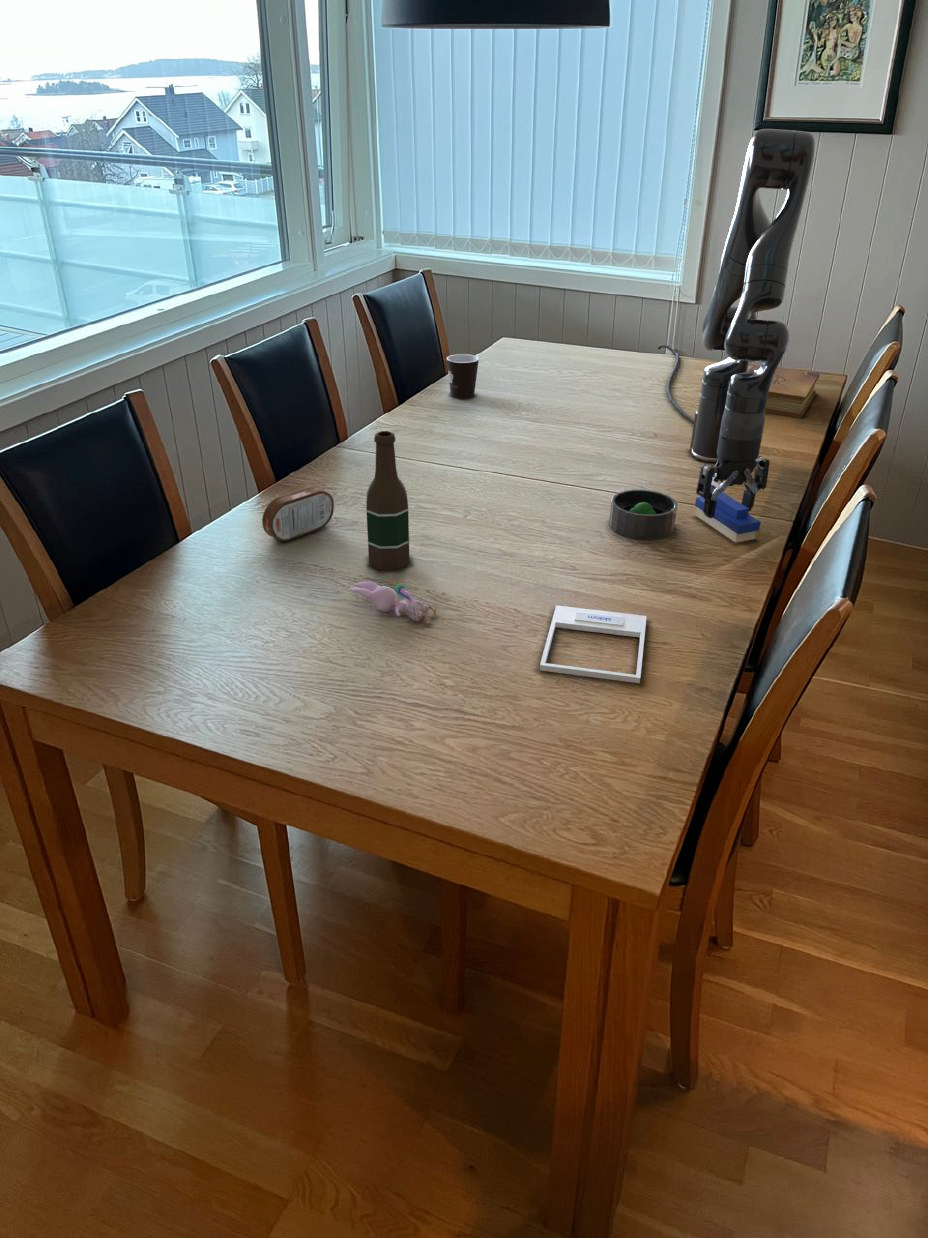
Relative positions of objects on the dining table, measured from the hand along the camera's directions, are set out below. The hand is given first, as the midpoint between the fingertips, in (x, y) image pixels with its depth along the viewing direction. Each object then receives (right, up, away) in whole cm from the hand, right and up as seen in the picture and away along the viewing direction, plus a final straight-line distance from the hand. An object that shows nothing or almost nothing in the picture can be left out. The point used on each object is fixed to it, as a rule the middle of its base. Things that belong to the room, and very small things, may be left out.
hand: (727, 513), depth 176 cm
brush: (0, -3, +2) cm, 3 cm away
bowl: (-16, -3, +2) cm, 17 cm away
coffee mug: (-51, +41, +75) cm, 100 cm away
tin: (-82, -4, -2) cm, 82 cm away
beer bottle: (-64, -10, -11) cm, 66 cm away
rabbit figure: (-62, -19, -26) cm, 70 cm away
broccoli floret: (-16, -2, +2) cm, 16 cm away
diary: (+33, +39, +72) cm, 89 cm away
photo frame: (-30, -24, -35) cm, 52 cm away
